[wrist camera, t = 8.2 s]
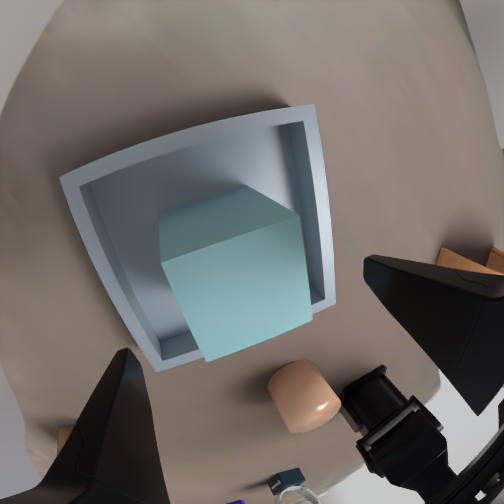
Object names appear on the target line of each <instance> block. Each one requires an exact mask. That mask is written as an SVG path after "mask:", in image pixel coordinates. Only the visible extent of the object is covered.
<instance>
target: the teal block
mask: <svg viewBox="0 0 504 504" xmlns="http://www.w3.org/2000/svg"><path fill="white" fill-rule="evenodd" d="M158 215H159V243H160V261H161V265H162V267H163V270H164V272H165V275H166V277H167V279H168V282H169V284H170V286H171V289H172V291H173V293H174V296H175V298H176V300H177V302H178V305H179V307H180V309H181V311H182V313H183V316H184V318H185V320H186V322H187V324H188V326H189V328H190V330H191V333H192V335H193V337H194V339H195V341H196V343H197V345H198V347H199V349H200V351H201V353H202V355H203V357H204V359H205V361H206V362H209V361H212V360H215V359H218V358H221V357H223V356H226V355H229V354H232V353H234V352H237V351H239V350H242V349H245V348H247V347H250V346H252V345H255V344H258V343H260V342H263V341H265V340H267V339H270V338H272V337H275V336H277V335H280V334H282V333H284V332H287V331H289V330H291V329H294V328H296V327H298V326H300V325H303V324H305V323H307V322H309V321H312V320H313V319H312V309H311V299H310V290H309V282H308V273H307V265H306V257H305V250H304V242H303V235H302V228H301V221H300V215H298V214H296V213H295V212H293V211H291V210H289V209H288V208H286V207H284V206H283V205H281V204H279V203H277V202H276V201H274V200H272V199H270V198H269V197H267V196H265V195H263V194H262V193H260V192H258V191H256V190H255V189H253V188H251V187H249V186H244V187H241V188H237V189H234V190H230V191H227V192H224V193H221V194H217V195H214V196H211V197H208V198H205V199H202V200H199V201H196V202H192V203H189V204H186V205H183V206H181V207H178V208H175V209H172V210H169V211H166V212H163V213H160V214H158Z"/></svg>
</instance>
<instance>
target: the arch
mask: <svg viewBox="0 0 504 504" xmlns="http://www.w3.org/2000/svg"><path fill="white" fill-rule="evenodd" d="M436 265H438V266H444V267H449V268H452V269H453V268H455V269H461V270H467V271H473V272H480V273H489V274H498V275H504V252H502V251H500V250H499V249H497V248H495V247H492V249H491V252H490V255H489V258H488V261H487V264H486V267H485V266H483V265H480V264H478V263H476V262H473V261H471V260H469V259H467V258H465V257H462V256H460V255H458V254H456V253H454V252H452V251H450V250H448V249H446V248H443V247H441V251H440V254H439V257H438V260H437V263H436Z"/></svg>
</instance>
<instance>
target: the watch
mask: <svg viewBox="0 0 504 504" xmlns="http://www.w3.org/2000/svg"><path fill="white" fill-rule="evenodd" d="M304 481H305V478H304V476H303V474H302V473H301V471H300V469H299V468H296V469H292V470H288V471H284V472H280V473H278V474H277V475H276V476H275V477H274V478H273V479H272V480H271V481H270V482H269V483H268V485H269V487H270V489H271V491H272V493H273V495H278V494H279V495H278V496H277V497H276V499H275V504H286V503H285V502H284V501H281V497H282V495H283V493H285V492H289V491H297V492H298V493H299V494H301V495H302V496H304V497H305V498H306V499H308V500H309V501H311V502H312V504H320V500H318V499H319V498H318V496H317V495H316V494H315V493H314V492H312V491H311V490H309V489H308V488H306V487H304V486H302V487H301V486H299V485H301V484H302V483H303V482H304Z"/></svg>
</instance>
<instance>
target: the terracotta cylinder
mask: <svg viewBox="0 0 504 504" xmlns="http://www.w3.org/2000/svg"><path fill="white" fill-rule="evenodd" d="M267 389H268V391H269V393H270V395H271V397H272V399H273V401H274V403H275V405H276V407H277V409H278V411H279V413H280V415H281V417H282V418H283V420H284V422H285V424H286V426H287V428H288V430H289V431H290V432H291V433H293V434H301V433H306V432H309V431H312V430H314V429H316V428H318V427H320V426H322V425H323V424H325V423H326V422H328V421H329V420H330V419H332V418H333V417H334V416H335V415H336V413H337V412H338V411H339V409H340V407H341V401H340V400H339V398H338V397H337V395H336V394H335V393H334V391H333V390H332V389H331V387H330V386H329V384H328V383H327V382H326V380H325V379H324V378H323V376H322V375H321V373H320V372H319V371H318V369H317V368H316V366H315V365H314V364H313V363H312V362H311V361H308V360H299V361H295V362H291V363H289V364H287V365H285V366H283V367H282V368H280V369H279V370H277V371H276V372H275V373H274V374H273V375H272V376H271V378H270V379H269V381H268V384H267Z"/></svg>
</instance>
